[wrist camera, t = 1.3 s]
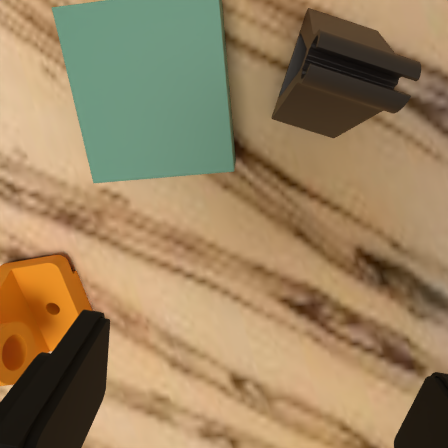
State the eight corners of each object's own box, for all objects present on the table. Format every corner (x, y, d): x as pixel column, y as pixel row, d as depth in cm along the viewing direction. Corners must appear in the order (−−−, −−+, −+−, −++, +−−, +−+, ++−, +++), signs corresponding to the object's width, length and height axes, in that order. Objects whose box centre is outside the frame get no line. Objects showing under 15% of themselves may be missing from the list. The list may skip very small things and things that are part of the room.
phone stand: (307, 8, 29) (347, -41, 17) (376, 31, 29) (458, -3, 18) (270, 118, 32) (284, 135, 21) (332, 137, 32) (378, 165, 21)
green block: (222, 2, 29) (217, -15, 24) (235, 159, 33) (234, 171, 29) (81, 19, 30) (51, 7, 25) (114, 170, 34) (93, 183, 30)
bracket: (100, 330, 42) (47, 418, 31) (45, 337, 43) (-26, 426, 32) (68, 250, 38) (-5, 317, 27) (8, 260, 39) (-87, 329, 28)
